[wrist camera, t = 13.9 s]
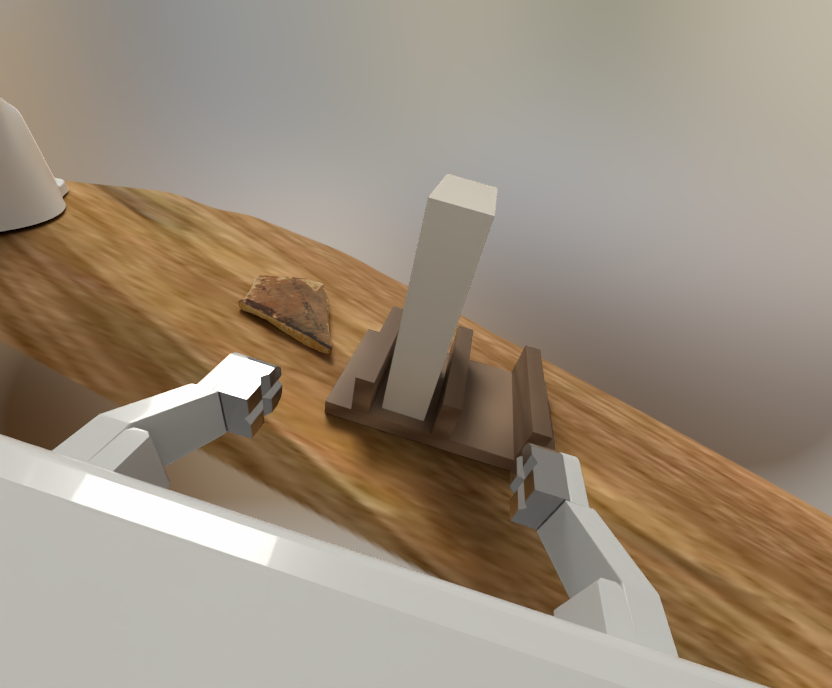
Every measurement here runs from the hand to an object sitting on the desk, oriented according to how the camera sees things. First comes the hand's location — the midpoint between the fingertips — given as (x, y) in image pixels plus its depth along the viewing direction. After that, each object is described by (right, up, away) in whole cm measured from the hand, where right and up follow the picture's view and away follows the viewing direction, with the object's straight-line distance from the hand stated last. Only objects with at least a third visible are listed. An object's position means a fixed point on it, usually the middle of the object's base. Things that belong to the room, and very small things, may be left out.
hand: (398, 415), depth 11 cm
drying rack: (+3, -2, +16) cm, 16 cm away
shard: (-10, +5, +22) cm, 24 cm away
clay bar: (0, -1, +15) cm, 15 cm away
